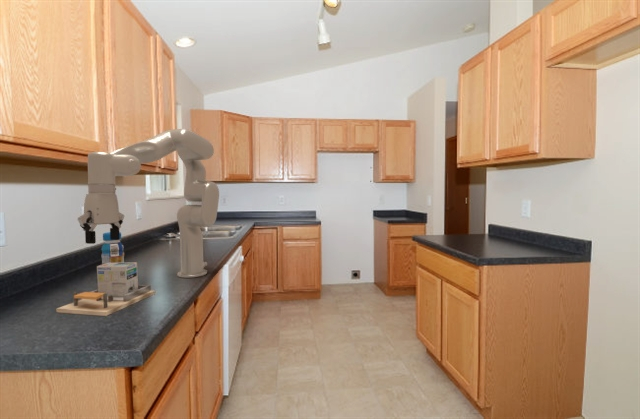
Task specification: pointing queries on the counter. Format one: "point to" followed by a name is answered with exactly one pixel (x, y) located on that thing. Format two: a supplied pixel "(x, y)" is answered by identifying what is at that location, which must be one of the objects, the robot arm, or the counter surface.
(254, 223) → the counter surface
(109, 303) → the rail mount
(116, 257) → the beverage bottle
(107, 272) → the light bulb box
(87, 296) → the latch plate
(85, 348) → the counter surface
